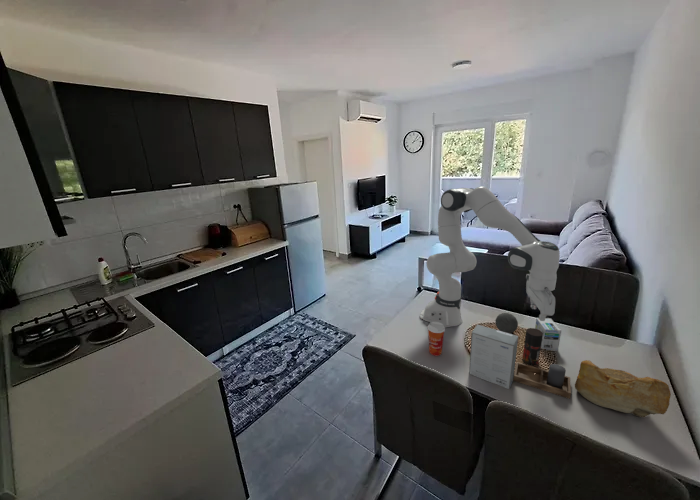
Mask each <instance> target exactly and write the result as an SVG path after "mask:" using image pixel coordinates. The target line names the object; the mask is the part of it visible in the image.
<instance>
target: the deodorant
mask: <svg viewBox="0 0 700 500" xmlns="http://www.w3.org/2000/svg"><path fill="white" fill-rule="evenodd" d="M542 337H543V333H542V332H541V331H540V330H538V329H535V327H528V328H527V329H526V330H525V337H524V342H523V343H524V345H523V350H522V352H523V353H522V357H521V358H522V362H523V364H526V365H529V366H533V367H536V366H538V365H539V362H540V360H539V359H540V356H541V350H542V348H541V343H542Z"/></svg>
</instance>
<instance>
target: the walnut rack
mask: <svg viewBox="0 0 700 500" xmlns="http://www.w3.org/2000/svg"><path fill="white" fill-rule="evenodd" d="M548 372H549V370H546V369H542V368H539V367H536V366H531V365H528V364H526V363H522V362H519V361H516V362H515V370H514V379H513V382H516V383H520V384H521V385H526V386H527V387H528V386H529V387H532V388H535V389H538V390H541V391H544V392H548V393H550V394H553V395H556V396H559V397H563V398H565V399H571V395H572V389H571V385H572V384H571V377H570V376H566V375H565V377H564V382H563V387H562V389H559V388H556V387H553V386H549V385H547V378H548ZM534 373H536V374H535V375H534Z"/></svg>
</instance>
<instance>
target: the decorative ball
mask: <svg viewBox="0 0 700 500" xmlns="http://www.w3.org/2000/svg"><path fill="white" fill-rule="evenodd" d="M494 323H495V326H496V328H497V330H499V331H502V332H506V333H509V334H512V333H514V332H516V330H518V327H519V322H518V319H517V317H515V316H514V315H513V314H512V313H509V312H501V313H499V314H498V315H497V316H496V318H495V322H494Z"/></svg>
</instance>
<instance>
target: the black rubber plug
mask: <svg viewBox="0 0 700 500" xmlns="http://www.w3.org/2000/svg"><path fill="white" fill-rule="evenodd" d="M548 371H549V372H548V378H547V385H549V386H553V387H556V388H559V389H562V387H563V382H564V377H565V376H566V368H565V367H564V366H563V365H560V364H558V363H552V364H551V363H550V364H549V367H548Z"/></svg>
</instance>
